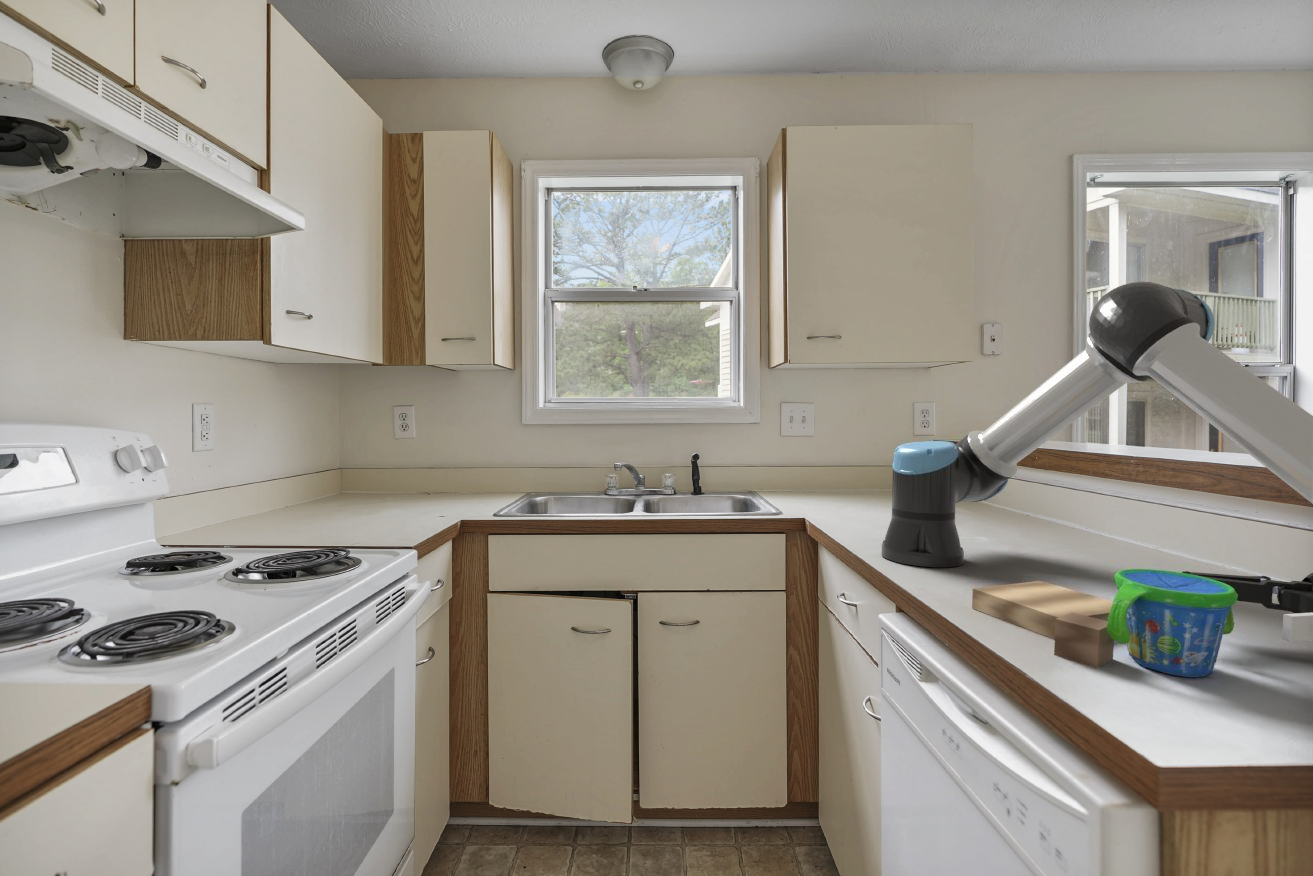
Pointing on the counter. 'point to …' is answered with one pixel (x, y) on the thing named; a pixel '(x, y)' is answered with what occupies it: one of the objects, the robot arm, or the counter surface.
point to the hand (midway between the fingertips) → (1216, 607)
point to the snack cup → (1171, 619)
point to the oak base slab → (1037, 604)
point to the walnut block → (1083, 639)
